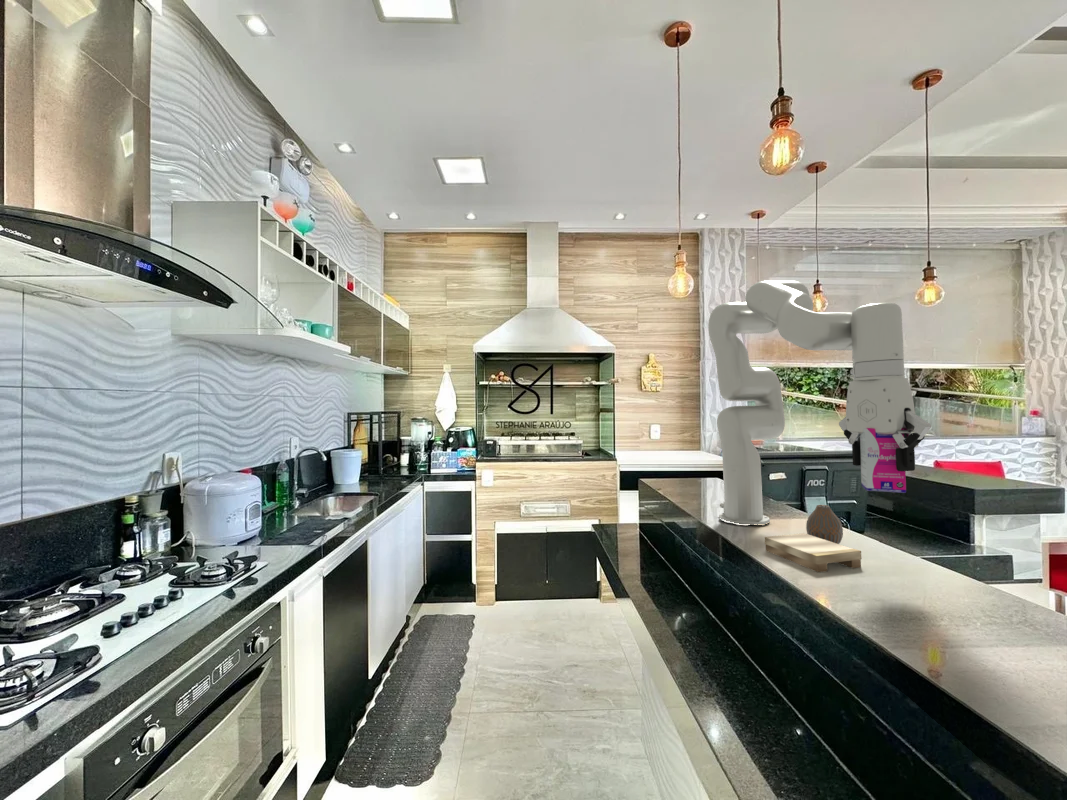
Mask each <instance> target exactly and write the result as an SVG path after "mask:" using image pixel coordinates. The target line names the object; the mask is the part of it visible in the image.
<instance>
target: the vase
mask: <svg viewBox="0 0 1067 800" xmlns="http://www.w3.org/2000/svg"><path fill="white" fill-rule="evenodd" d="M805 524H806V525H805V529H806V534H809V535H812V536H815V537H818V538H821V539H824V540H827V541H830V542H833V543H837V544H840V543H841V542H842V540H843V536H844V528H843V524H842V522H841V519H839V517H838V516H837V515H836V514H835V513H834V511H833V510H832V508H831V507H830V506H829V505H827V504H818V505H816V507H815V509H814V510H813V511H812V512H811V513H810V514H809V516H808V518H807V520H806V523H805Z"/></svg>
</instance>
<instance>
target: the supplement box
mask: <svg viewBox="0 0 1067 800" xmlns="http://www.w3.org/2000/svg"><path fill="white" fill-rule="evenodd" d="M901 430H904V429H903V428H901ZM902 436H903V437H904V434H903V435H902ZM896 448H900V447H899V445H898V444H897V442H896V441H895V439H894V437H893V436H892V434H878V433H876V430H875V429H874V428H864V429H863V433H860V454H861V465H860V480H861V487H862V488H863V489H864V490H865V491H866V492H867V491H868V492H886V493H902V494H906V493H907V480H906V476H907V475H906V472H907V471H898V470H897V469H896Z"/></svg>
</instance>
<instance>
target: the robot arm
mask: <svg viewBox="0 0 1067 800" xmlns="http://www.w3.org/2000/svg"><path fill="white" fill-rule="evenodd" d="M744 299H745V300H744V301H743V302H741V301H733V302H724V303H721V304H719V305H717V306H716V307H715V308H714V309H713V310H712V311H711V313H710V315H709V319H708V324H707V325H708V327H707V329H708V336H709V340H710V343H711V345H712V349H713V352H714V356H715V364H716V374H717V380H718V382H717V383H718V390H719V394H720V396H721V398H722V399H723V400H725V401H728V402H754V404H755V405H734V406H729V407H728V406H727V407H726V408H724V409H722V410H721V411H720V412H719V414H718V416H717V419H716V425H717V430H718V435H719V439H720V440H719V441H720V446H721V453H722V455H721V456H722V457H721V458H722V473H723V475H722V476H723V478H722V479H723V494H724V496H723V498H724V501H723V502H721V503H719V508H721V509H723V513H720V514H719V515H718V518H719V517H720V518H721V519H724V520H726V521H730V522H734V523H739V524H750V525H754V524H757V525H758V524H766V523H768V522H770V520H771V519H770V517H769V516H767V515H764V508H763V505H764V504H763V491H762V490H763V483H762V465H761V455H760V453H759V450H758V449H757V448H756V446H755V445H754V443H753V441H761V440H772V439H777V438H779V437H780V436H781V435H782V434H783V432H784V429H785V424H786V423H785V420H786V419H785V411H784V404H783V403H784V402H783V396H782V387H781V382H780V379H779V377H778V376H777V375H778V374H776V372H775V371H774V370H772V369H771V368H768V367H764V366H763V367H762V366H760V367H758V366H756V367H755V366H754V367H753V366H751V364H750V357H749V351H748V349H747V347H746V345H745V344H744V343H743V340H741V339H740V338H739V336H737V334H746V335H747V334H768V333H772V332H774V331H775V330H777V331H778V333H779V335H780V337H781V338H783V339H784V340H785V341H787V342H789V343H791V344H793V345H795V346H797V347H799V348H802V349H804V350H808V351H851V353H852V354H851V356H852V368H851V369H850V371H849V373H850V375H851V376H853V380H850V381H849V383H848V387H847V393H846V402H845V403H846V404H845V405H846V406H845V417H844V418H843V419H841V420H840V421H839V422H838V426H839V427H840V428H841V430H842V432H843V435H844V436H845V437H846V439H848V441H847V442H848V444H849V445H851V450H852V451H851V452H852V465H853V466H856V467H857V466H858V467H859V466H861V454H860V433H863V429H864V428H874V429H875V430H876V433H878V434H892V436H893V437H894V439H895V441H896V442H897V444H898V445H899V447H900V448H896V469H897V470H898V471H905V472H911V471H915V470H916V453H915V449H916V448H918V447H919V444H920V443H921V442H922V441H923V440H924V439H925V437H926V435H927V434H928V432H929V431H930V429H931V428H932V425H931V424H930V423H929V422H928V421H926V420H925V419H923V418H922V417H920V416H919V415H917V414H916V411H915V410H916V409H915V403H914V397H913V392H912V389H911V385H910V382H909V378H908V377H906V376H905V360H904V358H905V356H904V335H903V317H902V316H903V314H902V308H901V306H900V305H899V304H897V303H896V302H895V303H894V302H877V303H869V304H866V305H861V306H859V307H856V308H855V309H853V310H852V312H843V311H840V312H837V311H836V312H835V311H834V312H833V311H830V312H829V311H826V312H825V311H823V312H819V311H818V312H816V311H813V310H814V302H813V299H812V297H811V296H810V292H809V289H808V287H807V286H806V285H805V284H804V283H802V282H800V281H797V280H762V281H758V282H756V283H754V284H752V286H750V287H749V288H748V290H747V291H746V292H745V297H744ZM901 428H903V429H904V430H901ZM903 434H904V437H903V436H902V435H903ZM770 523H771V522H770Z"/></svg>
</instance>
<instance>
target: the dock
mask: <svg viewBox="0 0 1067 800" xmlns="http://www.w3.org/2000/svg"><path fill="white" fill-rule="evenodd" d="M764 544H765V551H766V552H768V553H770V554H773V555H775V556H778V557H781V558H782V559H784V560H787V561H790V562H792V563H795V564H797V565H800V566H802V567H805V568H806V569H809V570H811V571H813V572H817V573H824V572H825V573H826V572H828V564H832V563H836V564H840V565H842V566H845V567H848V568H850V569H858V568H859V569H860V568H861V567H862V561H861V560H862V551H861V550H859V549H856V548H851V547H848V546H845V545H842V544H840V543H839V544H837V543H833V542H830V541H827V540H824V539H821V538H818V537H815V536H812V535H809V534H807V533H805V532H803V533H791V534H781V535H780V534H779V535H771V536H764Z"/></svg>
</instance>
